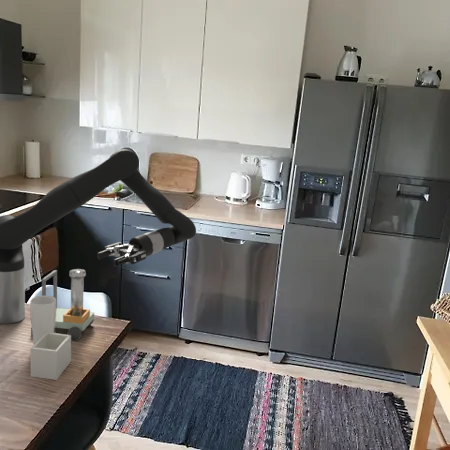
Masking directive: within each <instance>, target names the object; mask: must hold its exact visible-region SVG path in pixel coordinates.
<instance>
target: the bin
mask: <svg viewBox="0 0 450 450" xmlns="http://www.w3.org/2000/svg"><path fill="white" fill-rule="evenodd" d="M71 361H72V340H71V335H67V334H64V333H57V332H55V333H49V332H47V333H45V334H44V335H43V336H42V337H41V338H40V339H39V340H38V341H37V342H36V343H35V344H34V345H33V344H32V346H31V347H30V377H34V378H39V379H40V378H41V379H46V380H47V379H50V380H58V379H59V377H60V376H61V375H62V374H63V373H64V371H65V370H66V368H67V367H68V366H69V365H70V364H71V363H72V362H71Z"/></svg>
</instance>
